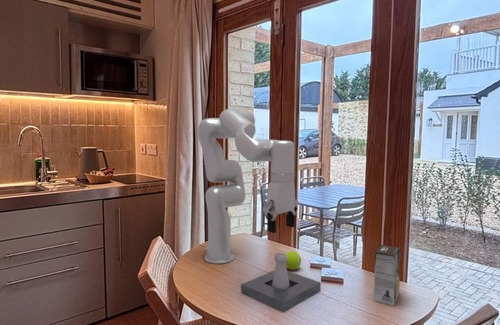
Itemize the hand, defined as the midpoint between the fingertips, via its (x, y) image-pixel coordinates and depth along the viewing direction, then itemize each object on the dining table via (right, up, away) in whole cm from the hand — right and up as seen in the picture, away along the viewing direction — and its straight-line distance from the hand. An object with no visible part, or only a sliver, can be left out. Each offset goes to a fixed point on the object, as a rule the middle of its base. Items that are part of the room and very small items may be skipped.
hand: (281, 229), depth 114 cm
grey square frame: (0, -21, +1) cm, 21 cm away
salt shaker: (0, -22, +1) cm, 22 cm away
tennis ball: (+6, -20, +22) cm, 30 cm away
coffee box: (+34, -22, -3) cm, 41 cm away
